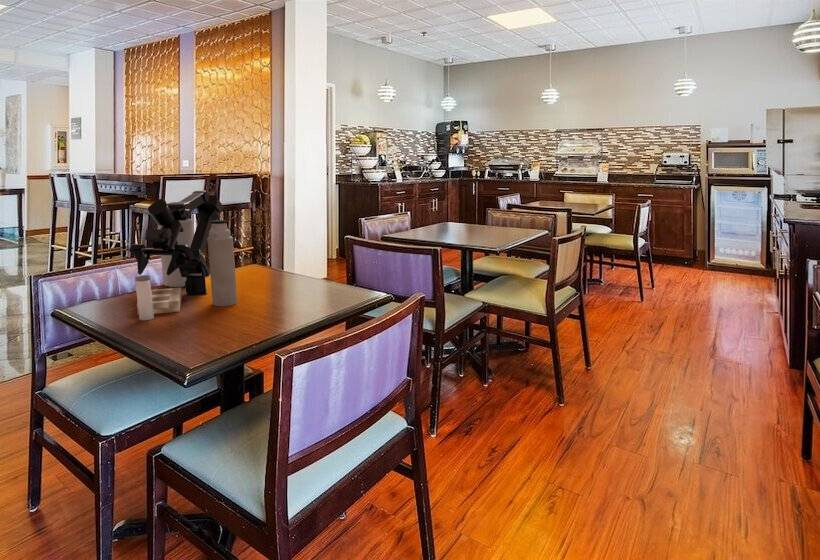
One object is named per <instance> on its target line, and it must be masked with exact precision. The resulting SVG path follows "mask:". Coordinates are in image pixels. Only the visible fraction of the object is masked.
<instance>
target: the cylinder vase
mask: <svg viewBox="0 0 820 560" xmlns="http://www.w3.org/2000/svg"><path fill="white" fill-rule="evenodd" d="M178 221H179V220H178ZM179 222H180V223H181V225H182V227H183V230H184V231H183V232H179V235H178V237H177V242H178V244H180V245H188V247H189V248H190V246H191V243H192V240H193V237H194V234H195V228H194V219H192V218H188V220H186V221H179ZM160 228H161V225H158V224H157V229H159V230H160ZM173 249H174V248H173ZM171 259H172V256H162V255H160V261H161V263H160V264H161V272H162V281H163V286H165V287H167V286H169V287H168V288H185V287H184V286H185V280H187V279H186V277H181V274H180V270H179V268H177V269H176V270H175V271H174V272H173V273H171V274H170V275H167V269H168V267H169V264H170V261H171Z"/></svg>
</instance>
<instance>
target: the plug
mask: <svg viewBox="0 0 820 560" xmlns="http://www.w3.org/2000/svg"><path fill="white" fill-rule="evenodd" d="M134 281H135V289H136V290H135V291H136V292H135V293H136V297H137V302H138V310H139V315H138V318H139V320H140V321H150V320H154V319H155V314H154V312H153V302H152V293H151V290H152V287H151V283H152V282H151V276H150V275H147V274H146V275H142V274H141V275H136V276H134Z"/></svg>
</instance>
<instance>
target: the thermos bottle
mask: <svg viewBox="0 0 820 560" xmlns="http://www.w3.org/2000/svg"><path fill="white" fill-rule="evenodd" d="M211 223H212V225H211V230H210V231H209V237H208V238H207V249H208V250H207V251H208V262H209V265H208V266H209V269H210V275H209V276H210V286H211V301H212V305H213V306H216V307H228V306H233V305H235V304H237V303H238V292H237V278H236V277H237V276H236V264H235V248H234V237H233V236H232V235H231V230H230V229H229V228H228V225H227V223H228V221H227V220H225V219H217V220H214V221H211Z"/></svg>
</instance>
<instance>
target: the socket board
mask: <svg viewBox="0 0 820 560" xmlns="http://www.w3.org/2000/svg"><path fill="white" fill-rule="evenodd" d="M151 293H152V302H153V312H154V315H155V314H164V313H165V314H167V313H178V312H180V311H181V305H182V299H183V298H182V297H183V296H182V287H168V288H158V289H151ZM136 311H137V316H139V310H138V301H137V303H136Z"/></svg>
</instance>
